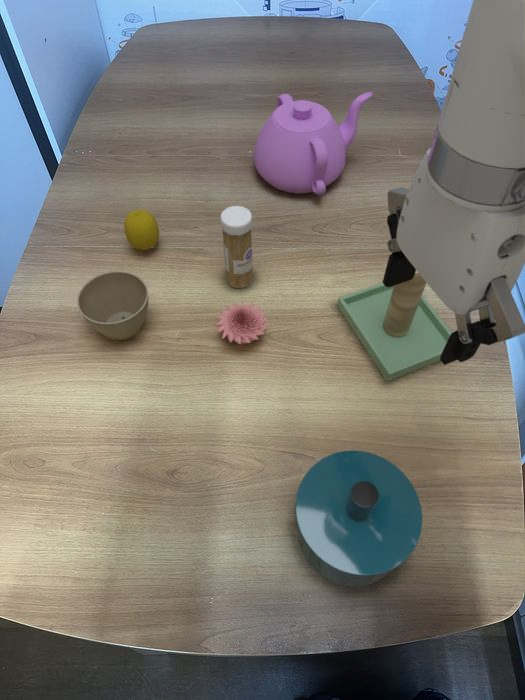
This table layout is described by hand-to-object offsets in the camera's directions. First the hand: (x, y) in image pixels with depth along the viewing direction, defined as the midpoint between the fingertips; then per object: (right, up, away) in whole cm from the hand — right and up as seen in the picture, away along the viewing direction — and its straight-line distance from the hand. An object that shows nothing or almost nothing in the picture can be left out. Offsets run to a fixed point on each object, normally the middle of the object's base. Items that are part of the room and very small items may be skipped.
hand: (425, 317), depth 50 cm
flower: (-18, -1, +32) cm, 36 cm away
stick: (+5, 0, +32) cm, 32 cm away
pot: (-5, -25, +15) cm, 29 cm away
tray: (+5, 0, +32) cm, 33 cm away
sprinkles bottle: (-19, +8, +38) cm, 44 cm away
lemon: (-35, +14, +43) cm, 57 cm away
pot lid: (-5, -20, +9) cm, 23 cm away
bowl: (-36, 0, +33) cm, 49 cm away
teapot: (-6, +32, +55) cm, 63 cm away
